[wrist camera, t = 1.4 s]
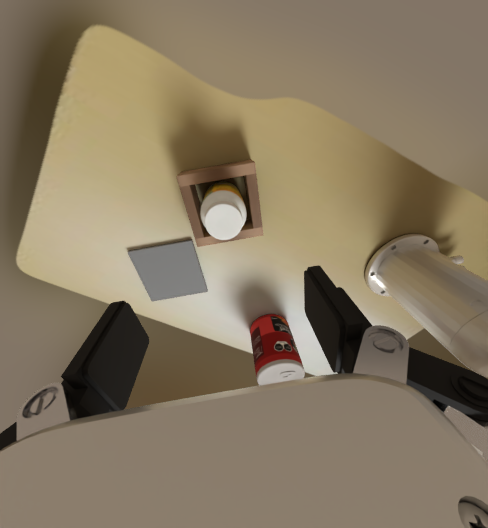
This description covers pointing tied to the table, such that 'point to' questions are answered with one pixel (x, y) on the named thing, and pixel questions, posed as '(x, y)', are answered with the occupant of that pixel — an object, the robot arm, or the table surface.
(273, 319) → the canned food
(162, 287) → the rubber mat
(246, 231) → the sleeve holder
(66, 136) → the table surface
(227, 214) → the supplement bottle
